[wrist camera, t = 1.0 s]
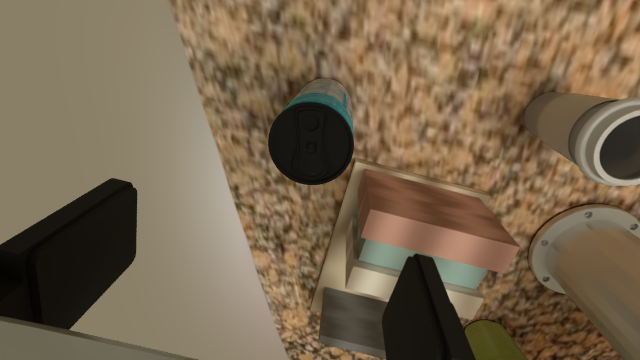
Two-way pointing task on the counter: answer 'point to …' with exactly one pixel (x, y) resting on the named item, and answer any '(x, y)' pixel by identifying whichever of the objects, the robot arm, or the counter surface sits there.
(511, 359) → the plant pot
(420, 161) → the counter surface
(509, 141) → the counter surface
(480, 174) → the counter surface
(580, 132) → the cup
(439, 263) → the book rack
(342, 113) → the beverage can
